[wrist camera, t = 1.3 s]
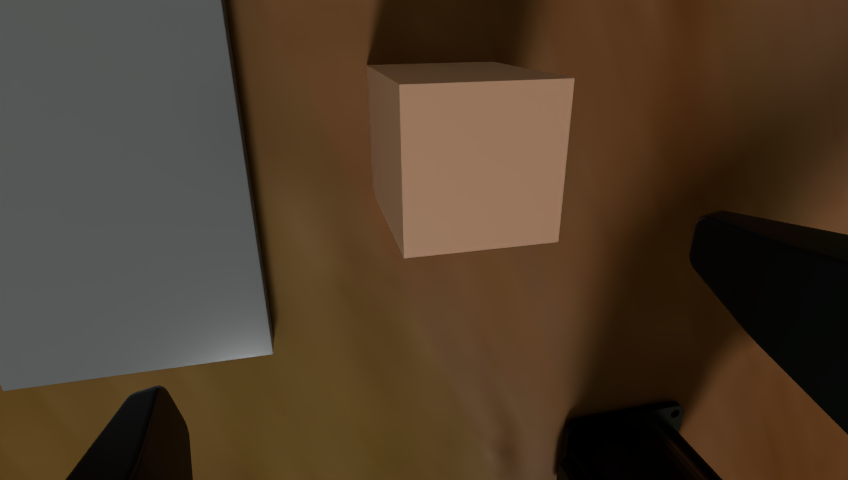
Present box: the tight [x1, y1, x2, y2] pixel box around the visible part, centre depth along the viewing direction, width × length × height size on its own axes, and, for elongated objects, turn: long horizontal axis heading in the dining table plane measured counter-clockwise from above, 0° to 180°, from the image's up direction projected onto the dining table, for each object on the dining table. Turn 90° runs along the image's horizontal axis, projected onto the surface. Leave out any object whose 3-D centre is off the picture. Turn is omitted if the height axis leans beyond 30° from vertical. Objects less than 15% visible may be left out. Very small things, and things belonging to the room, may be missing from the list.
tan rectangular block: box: [367, 62, 575, 258], centre depth 16 cm, size 4×4×6 cm
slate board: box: [0, 0, 274, 391], centre depth 16 cm, size 9×16×1 cm, turn 1°
